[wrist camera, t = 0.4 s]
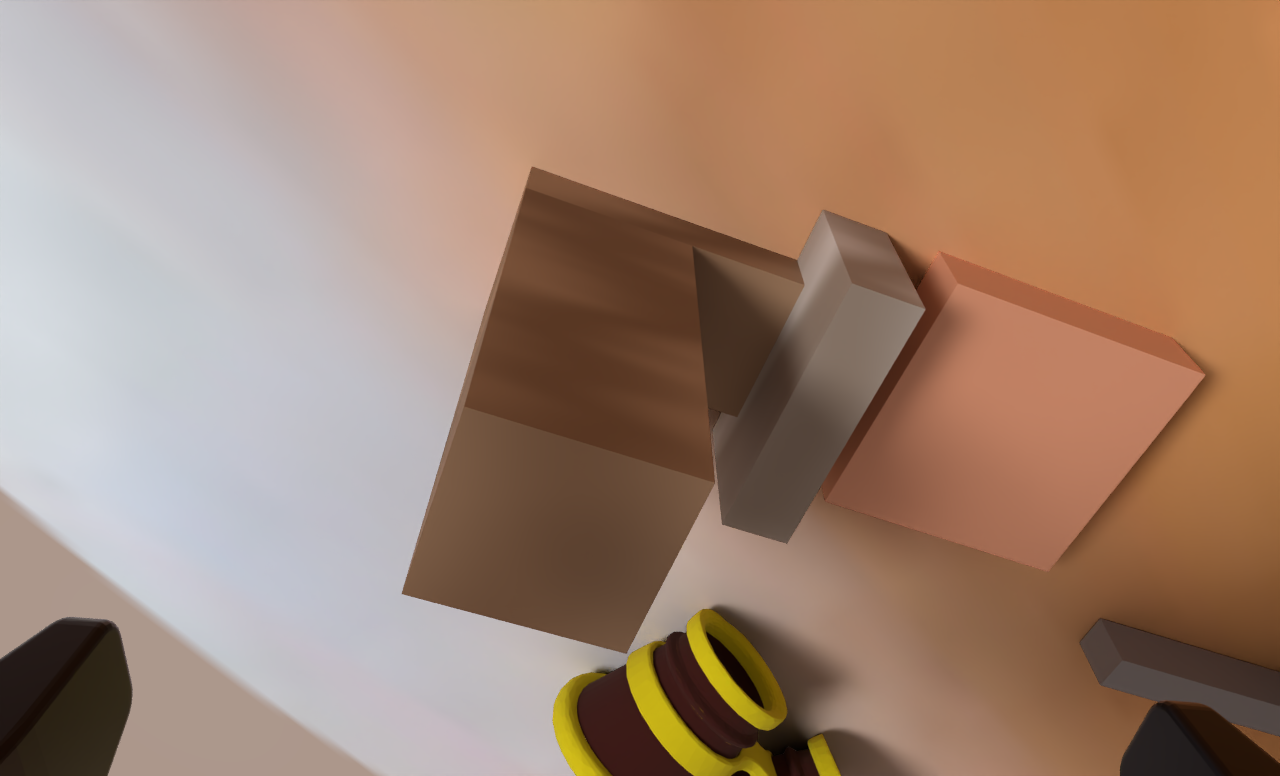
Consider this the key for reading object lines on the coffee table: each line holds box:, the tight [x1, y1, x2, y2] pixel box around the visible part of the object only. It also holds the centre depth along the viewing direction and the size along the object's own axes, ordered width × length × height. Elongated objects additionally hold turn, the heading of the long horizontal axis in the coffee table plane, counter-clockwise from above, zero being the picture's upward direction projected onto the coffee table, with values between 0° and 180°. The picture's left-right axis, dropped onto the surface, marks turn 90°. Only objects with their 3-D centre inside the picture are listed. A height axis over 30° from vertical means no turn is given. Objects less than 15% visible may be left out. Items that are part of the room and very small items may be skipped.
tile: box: [821, 251, 1205, 572], centre depth 23 cm, size 6×6×2 cm
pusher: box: [402, 167, 926, 653], centre depth 18 cm, size 8×6×9 cm
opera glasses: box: [553, 609, 841, 776], centre depth 28 cm, size 10×5×5 cm, turn 32°
